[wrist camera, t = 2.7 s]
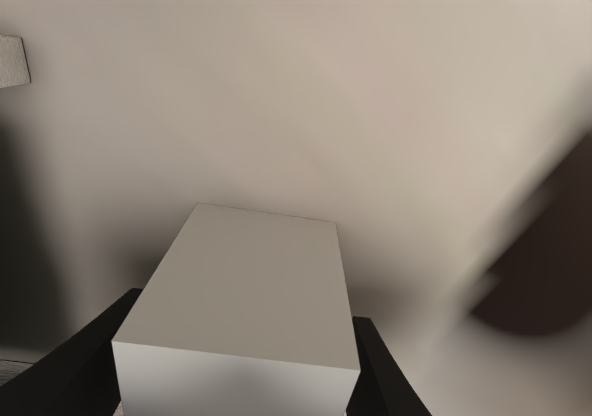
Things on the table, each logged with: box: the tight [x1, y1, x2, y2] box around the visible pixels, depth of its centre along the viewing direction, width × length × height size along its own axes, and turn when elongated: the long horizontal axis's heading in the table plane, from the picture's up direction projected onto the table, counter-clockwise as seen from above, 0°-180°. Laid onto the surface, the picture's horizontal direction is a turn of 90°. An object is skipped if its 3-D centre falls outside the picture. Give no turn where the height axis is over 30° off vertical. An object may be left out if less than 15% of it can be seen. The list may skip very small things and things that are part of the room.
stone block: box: [112, 203, 361, 416], centre depth 11 cm, size 7×5×6 cm
